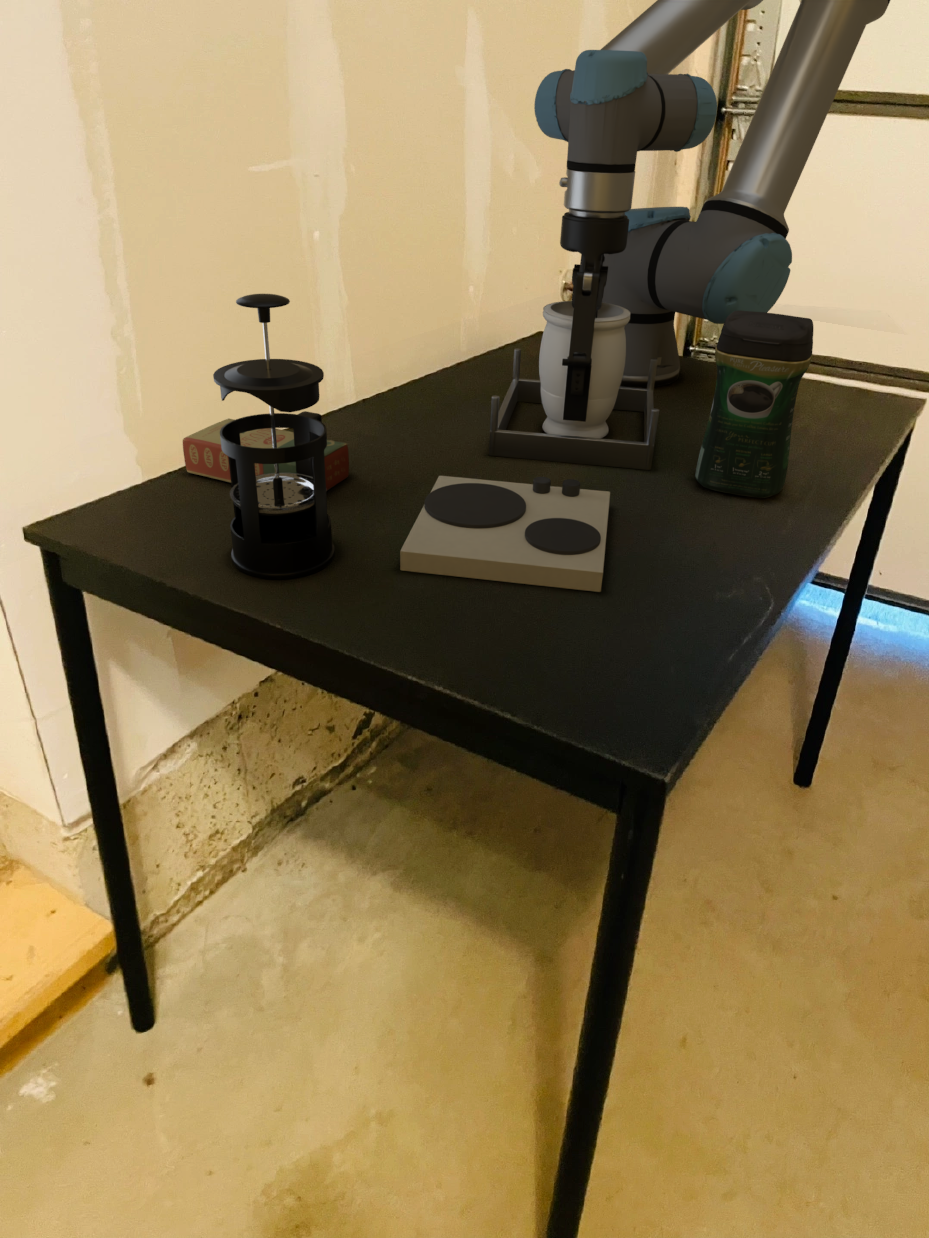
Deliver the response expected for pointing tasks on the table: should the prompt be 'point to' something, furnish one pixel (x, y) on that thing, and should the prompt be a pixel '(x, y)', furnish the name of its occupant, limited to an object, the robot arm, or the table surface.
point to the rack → (573, 446)
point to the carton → (212, 462)
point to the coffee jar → (754, 402)
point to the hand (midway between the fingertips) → (577, 405)
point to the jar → (603, 370)
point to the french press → (277, 496)
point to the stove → (511, 533)
